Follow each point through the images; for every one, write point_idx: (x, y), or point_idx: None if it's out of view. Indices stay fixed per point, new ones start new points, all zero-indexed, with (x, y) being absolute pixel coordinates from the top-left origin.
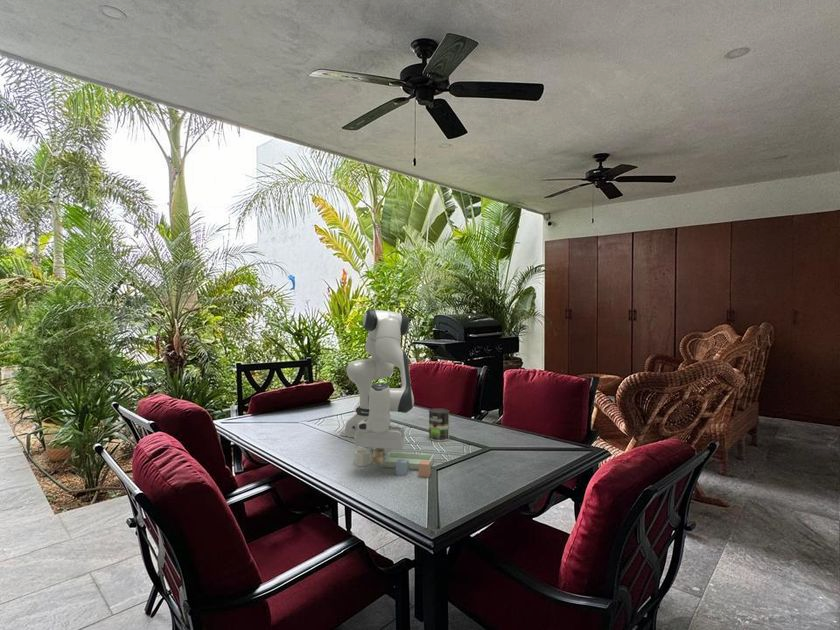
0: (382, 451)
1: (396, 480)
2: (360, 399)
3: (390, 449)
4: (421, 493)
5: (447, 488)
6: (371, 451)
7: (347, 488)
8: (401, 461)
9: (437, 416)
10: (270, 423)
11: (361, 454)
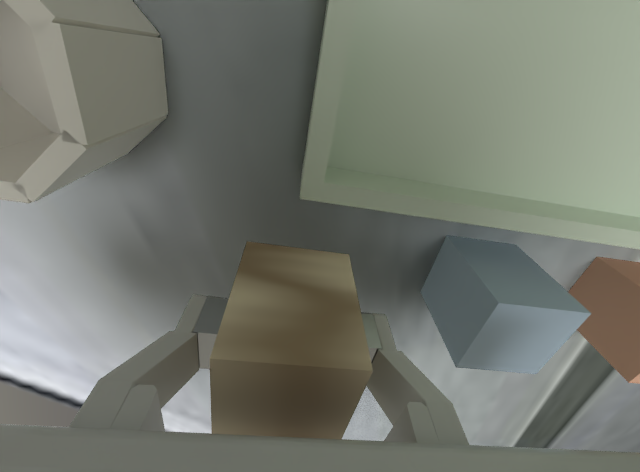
0: (336, 429)
1: (413, 353)
2: None
3: (450, 421)
4: (500, 430)
5: (628, 399)
6: (176, 377)
7: (192, 420)
8: (505, 354)
9: None
10: None
11: (6, 196)
